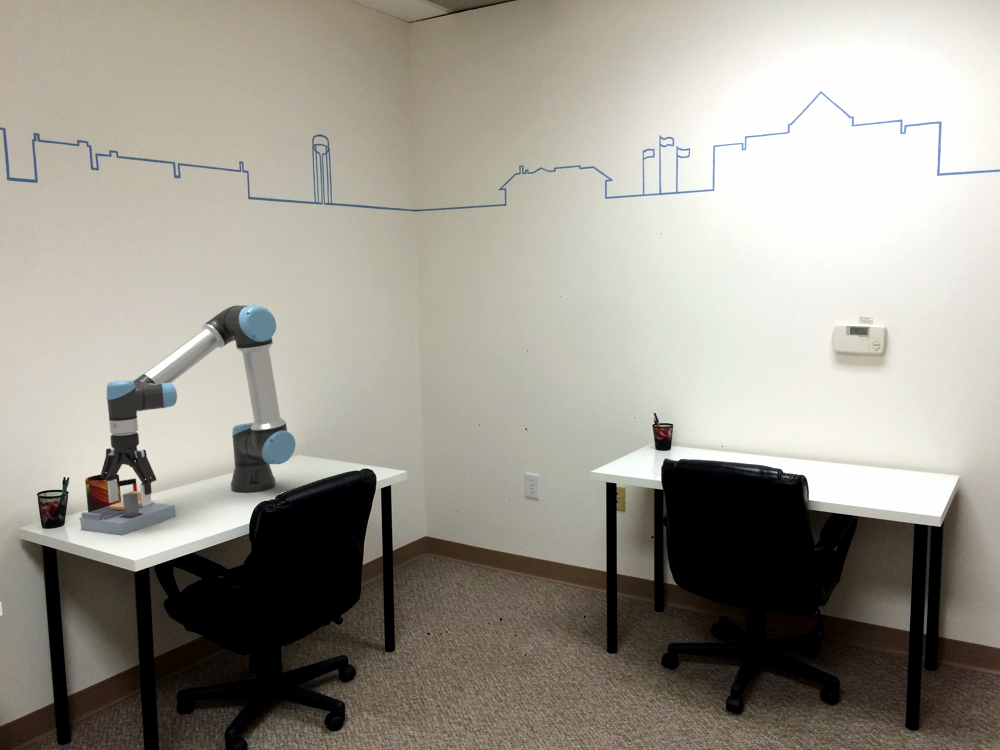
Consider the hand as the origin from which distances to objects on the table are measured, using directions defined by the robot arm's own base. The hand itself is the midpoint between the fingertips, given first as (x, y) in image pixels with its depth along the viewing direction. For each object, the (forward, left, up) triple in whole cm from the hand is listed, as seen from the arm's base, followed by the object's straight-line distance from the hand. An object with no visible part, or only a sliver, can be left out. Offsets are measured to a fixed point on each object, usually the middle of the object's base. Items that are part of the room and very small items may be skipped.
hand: (130, 503), depth 237 cm
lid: (-7, -8, -3) cm, 11 cm away
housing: (-3, -4, -7) cm, 9 cm away
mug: (-10, -20, -7) cm, 23 cm away
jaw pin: (0, 0, -7) cm, 7 cm away
